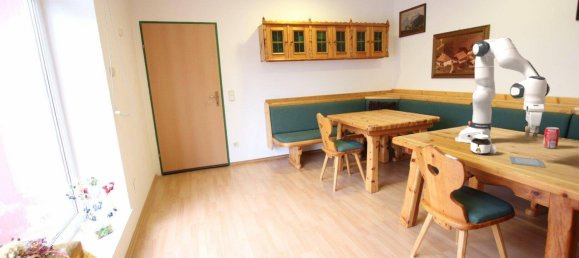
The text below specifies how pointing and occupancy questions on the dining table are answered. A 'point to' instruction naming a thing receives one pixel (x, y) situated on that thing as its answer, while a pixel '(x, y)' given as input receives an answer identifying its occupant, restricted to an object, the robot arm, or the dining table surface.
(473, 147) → the spread jar
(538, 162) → the pad
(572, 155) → the dining table surface
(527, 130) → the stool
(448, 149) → the dining table surface
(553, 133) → the soda can
